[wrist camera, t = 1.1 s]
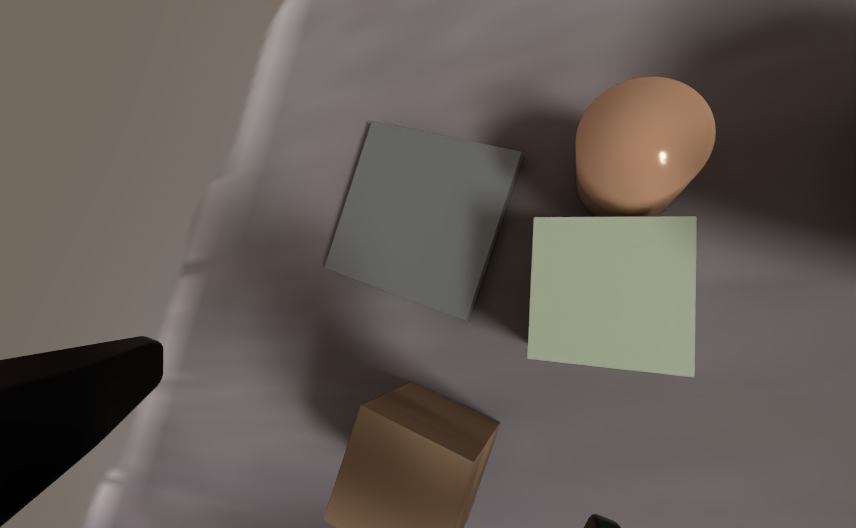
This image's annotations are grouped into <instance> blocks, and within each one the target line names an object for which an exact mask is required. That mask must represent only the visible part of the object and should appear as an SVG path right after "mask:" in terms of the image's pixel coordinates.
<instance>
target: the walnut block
mask: <svg viewBox="0 0 856 528" xmlns="http://www.w3.org/2000/svg"><path fill="white" fill-rule="evenodd" d="M499 425H500V422H498V421H496V420H494V419H492V418H489V417H487V416H485V415H483V414H481V413H478V412H476V411H474V410H472V409H470V408H468V407H465V406H463V405H461V404H459V403H457V402H454V401H452V400H450V399H448V398H446V397H443V396H441V395H439V394H437V393H435V392H433V391H430V390H428V389H426V388H424V387H422V386H419V385H417V384H415V383H413V382H410V383H408V384H406V385H404V386H401V387H399V388H397V389H395V390H393V391H390V392H388V393H386V394H384V395H382V396H379V397H377V398H375V399H373V400H371V401H368V402H366V403H364V404H362V405H361V406H360V409H359V412H358V415H357V418H356V421H355V424H354V427H353V430H352V433H351V436H350V439H349V442H348V445H347V448H346V451H345V454H344V458H343V461H342V464H341V467H340V470H339V473H338V476H337V479H336V482H335V485H334V488H333V491H332V494H331V497H330V500H329V503H328V506H327V510H326V513H325V516H324V519H323V520H324V521H326V522H327V523H329V524H330V525H332V526H333V527H335V528H464V526H465V524H466V522H467V520H468V518H469V515H470V512H471V509H472V506H473V503H474V500H475V497H476V494H477V491H478V488H479V485H480V482H481V479H482V476H483V473H484V470H485V467H486V464H487V461H488V458H489V455H490V452H491V449H492V446H493V443H494V440H495V437H496V434H497V431H498V428H499Z"/></svg>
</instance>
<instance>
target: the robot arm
mask: <svg viewBox="0 0 856 528" xmlns="http://www.w3.org/2000/svg"><path fill="white" fill-rule="evenodd" d="M162 376H163V346H162V344H161V343H160V342H158V341H156V340H153V339H151V338H148V337H144V336H140V337H134V338H127V339H122V340H116V341H110V342H104V343H98V344H93V345H86V346H80V347H75V348H69V349H63V350H57V351H51V352H45V353H40V354H33V355H28V356H22V357H16V358H10V359H4V360H0V527H1V526H2V525H3V524H5V523H6V522H7V521H8V520H9V519H11V518H12V517H13V516H14V515H15V514H16V513H18V512H19V511H20V510H21V509H22V508H24V507H25V506H26V505H27V504H28V503H29V502H30V501H32V500H33V499H34V498H35V497H37V496H38V495H39V494H40V493H41V492H43V491H44V490H45V489H46V488H47V487H48V486H50V485H51V484H52V483H53V482H54V481H56V480H57V479H58V478H59V477H60V476H61V475H63V474H64V473H65V472H66V471H67V470H69V469H70V468H71V467H72V466H73V465H75V464H76V463H77V462H78V461H79V460H80V459H82V457H84V456H85V455H86V454H87V453H89V452H90V451H91V450H92V449H93V448H94V447H95V446H97V445H98V444H99V443H100V442H101V441H102V440H103V439H104V438H105V437H106V436H107V435H108V434H109V433H110V432H111V431H112V430H113V429H114V428H115V427H116V426H117V425H118V424H119V423H120V422H121V421H122V420H123V419H124V418H125V417H126V416H127V415H128V414H129V413H130V412H131V411H132V410H133V409H134V408H135V407H136V406H137V405H138V404H139V403H140V402H141V401H142V400H143V399H144V398H146V397H147V396H148V395H149V394H150V393H151V392H152V391H153V390H154V389H155V388H156V387H157V385H158V384H159V383H160V381H161V379H162ZM584 528H621V527H620V526H619V525H618V524H617V523H616V522H614V521H612V520H610V519H607V518H605V517H602V516H600V515H597V514H593V515H591V516H590V517H589V519H588V521H587V522H586V524H585V526H584Z"/></svg>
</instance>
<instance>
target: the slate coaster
mask: <svg viewBox="0 0 856 528" xmlns="http://www.w3.org/2000/svg"><path fill="white" fill-rule="evenodd" d="M522 159H523V153H522V152H521V151H517V150H512V149H507V148H502V147H497V146H492V145H487V144H482V143H478V142H473V141H468V140H463V139H458V138H453V137H448V136H444V135H439V134H434V133H429V132H424V131H419V130H414V129H409V128H405V127H400V126H395V125H390V124H385V123H380V122H375V121H372V122H371V125H370V128H369V131H368V134H367V137H366V140H365V144H364V147H363V150H362V153H361V156H360V159H359V162H358V165H357V168H356V171H355V174H354V178H353V181H352V184H351V187H350V190H349V193H348V196H347V199H346V202H345V205H344V208H343V211H342V215H341V218H340V221H339V224H338V227H337V230H336V233H335V236H334V239H333V242H332V245H331V248H330V252H329V255H328V258H327V261H326V264H325V267H324V268H326V269H329V270H331V271H334V272H337V273H339V274H342V275H345V276H347V277H350V278H353V279H355V280H358V281H361V282H363V283H366V284H368V285H371V286H374V287H376V288H379V289H382V290H384V291H387V292H390V293H392V294H395V295H398V296H400V297H403V298H406V299H408V300H411V301H414V302H416V303H419V304H422V305H424V306H427V307H430V308H432V309H435V310H438V311H440V312H443V313H446V314H448V315H451V316H454V317H456V318H459V319H462V320H464V321H469V320H470V317H471V314H472V310H473V307H474V304H475V301H476V298H477V295H478V292H479V289H480V286H481V283H482V280H483V277H484V274H485V271H486V268H487V265H488V262H489V259H490V256H491V253H492V250H493V247H494V244H495V241H496V238H497V235H498V232H499V229H500V226H501V223H502V220H503V217H504V214H505V211H506V208H507V205H508V201H509V198H510V195H511V192H512V189H513V186H514V183H515V180H516V177H517V174H518V171H519V168H520V165H521V162H522Z"/></svg>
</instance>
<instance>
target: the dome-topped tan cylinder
mask: <svg viewBox="0 0 856 528" xmlns="http://www.w3.org/2000/svg"><path fill="white" fill-rule="evenodd" d="M715 135H716V128H715V121H714V116H713V114H712V111H711V109H710V107H709V106H708V104H707V102H706V101H705V100H704V98H703V97H702V96H701V95H700V94H699V93H698V92H696V91H695V90H694V89H693V88H691V87H689V86H688V85H686V84H684V83H682V82H679V81H676V80H673V79H670V78H664V77H641V78H635V79H631V80H628V81H625V82H622V83H620V84H617V85H615V86H613V87H612V88H610V89H608V90H607V91H605V92H604V93H602V94H601V95H600V96H599V97H598V98H596V99H595V100H594V102H593V103H592V104H591V105H590V106H589V107H588V109H587V110H586V111H585V113H584V115H583V117H582V118H581V121H580V123H579V126H578V129H577V133H576V181H577V190H578V194H579V197H580V199H581V201H582V203H583V204H584V206H585V207H586V208H587V209H588V210H589V211H590V212H591V213H592V214H593V215H595V216H596V217H656V216H658V215H659V214H660V213H662V212H663V211H664V210H665V209H666V208H667V207H668V206H669V205H670V204H671V203H672V202H673V201H674V200H675V199H676V197H677V196H678V195H679V194H680V193H681V192H682V191H683V190H684V188H685V187H686V186H687V185H688V184H689V183H690V182H691V181H692V179H693V178H694V177H695V176H696V175H697V174H698V173H699V172H700V170H701V169H702V168H703V166H704V165H705V164H706V162H707V160H708V159H709V157H710V155H711V152H712V150H713V146H714V142H715Z"/></svg>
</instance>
